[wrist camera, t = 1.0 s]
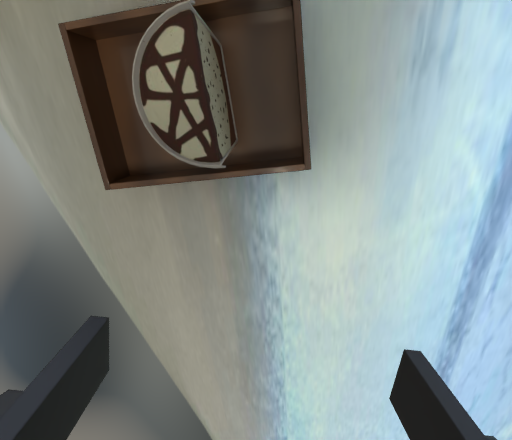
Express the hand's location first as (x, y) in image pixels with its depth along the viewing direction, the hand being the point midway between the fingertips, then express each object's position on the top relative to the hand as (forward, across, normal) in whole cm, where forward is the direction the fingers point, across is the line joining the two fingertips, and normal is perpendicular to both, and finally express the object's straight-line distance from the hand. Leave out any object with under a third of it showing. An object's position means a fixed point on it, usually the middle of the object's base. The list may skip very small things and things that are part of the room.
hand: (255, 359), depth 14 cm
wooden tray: (+24, -7, +12) cm, 27 cm away
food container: (+23, -7, +12) cm, 27 cm away
